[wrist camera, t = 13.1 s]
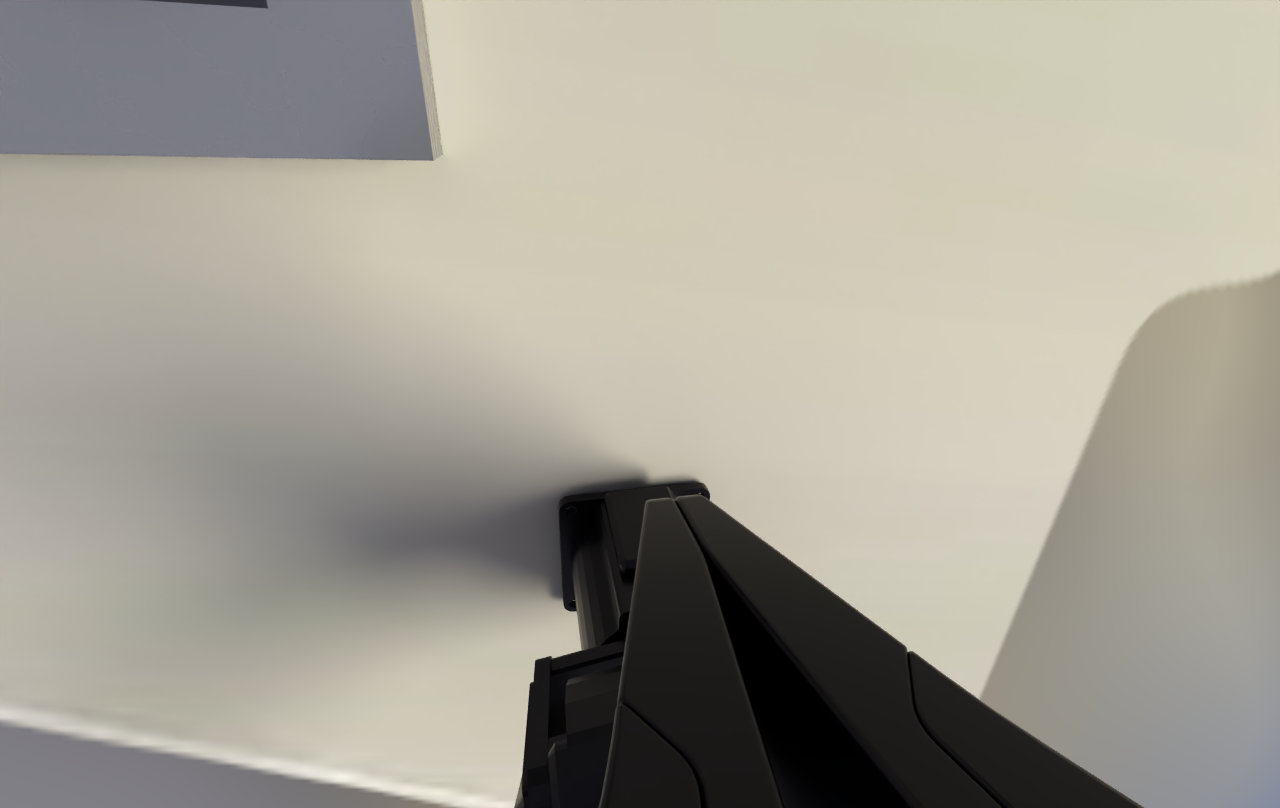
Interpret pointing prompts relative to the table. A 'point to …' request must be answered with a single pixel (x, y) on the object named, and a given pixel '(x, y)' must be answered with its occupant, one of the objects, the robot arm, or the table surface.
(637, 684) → the robot arm
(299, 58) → the socket
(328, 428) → the table surface
